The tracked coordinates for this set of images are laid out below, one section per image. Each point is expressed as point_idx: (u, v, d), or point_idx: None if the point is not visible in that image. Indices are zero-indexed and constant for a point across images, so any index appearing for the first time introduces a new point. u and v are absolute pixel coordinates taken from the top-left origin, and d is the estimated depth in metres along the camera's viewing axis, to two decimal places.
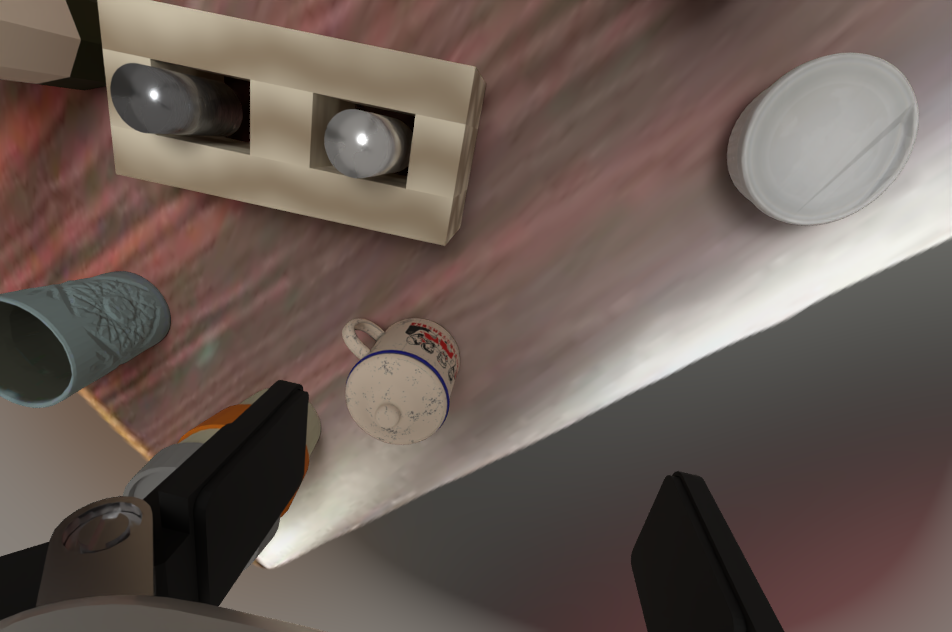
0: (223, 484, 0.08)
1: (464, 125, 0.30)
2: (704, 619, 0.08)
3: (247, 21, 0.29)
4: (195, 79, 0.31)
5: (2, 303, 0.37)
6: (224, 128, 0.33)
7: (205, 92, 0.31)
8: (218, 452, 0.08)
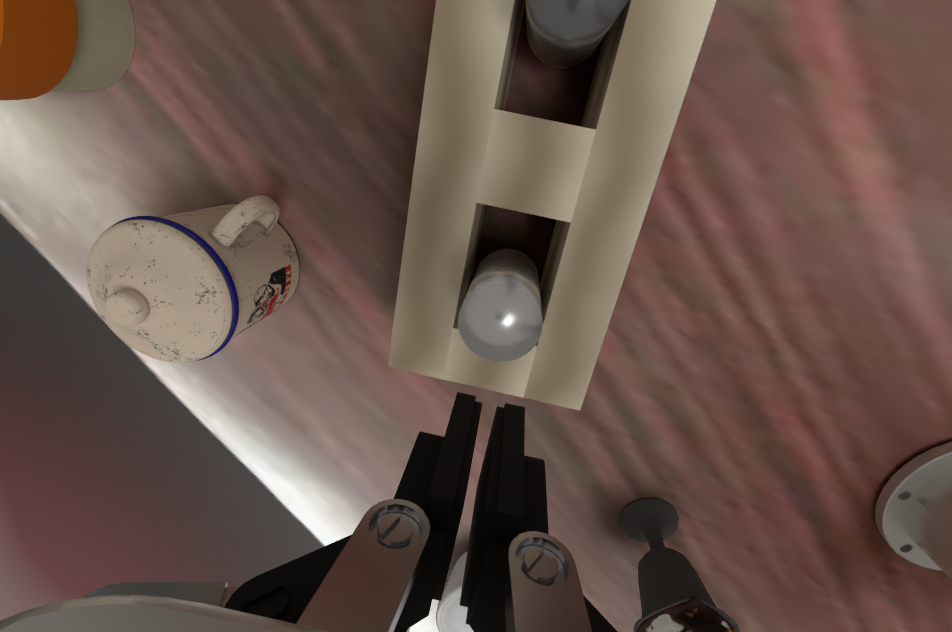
0: (466, 488, 0.09)
1: (522, 396, 0.27)
2: (481, 511, 0.09)
3: (668, 139, 0.21)
4: (605, 33, 0.19)
5: None
6: (536, 48, 0.22)
7: (585, 50, 0.20)
8: (452, 460, 0.09)
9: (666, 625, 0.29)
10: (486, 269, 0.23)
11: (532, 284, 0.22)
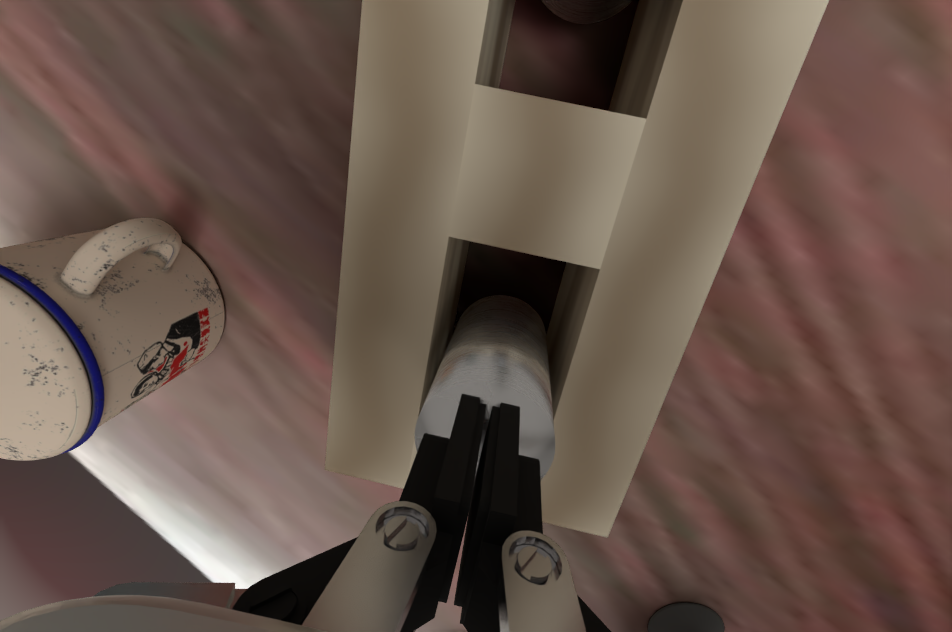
0: (472, 490, 0.09)
1: None
2: (475, 511, 0.09)
3: (770, 135, 0.12)
4: None
5: None
6: None
7: None
8: (458, 462, 0.09)
9: None
10: (466, 339, 0.15)
11: (538, 368, 0.14)
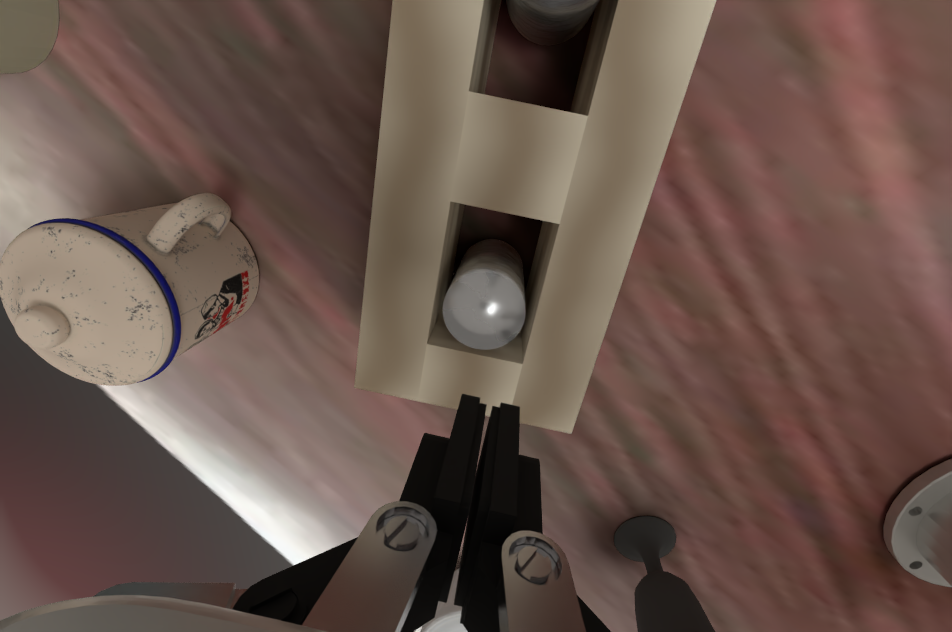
0: (472, 490, 0.09)
1: None
2: (475, 510, 0.09)
3: (671, 127, 0.18)
4: (599, 0, 0.16)
5: None
6: (517, 20, 0.19)
7: (575, 20, 0.17)
8: (458, 462, 0.09)
9: None
10: (470, 259, 0.24)
11: (515, 273, 0.23)
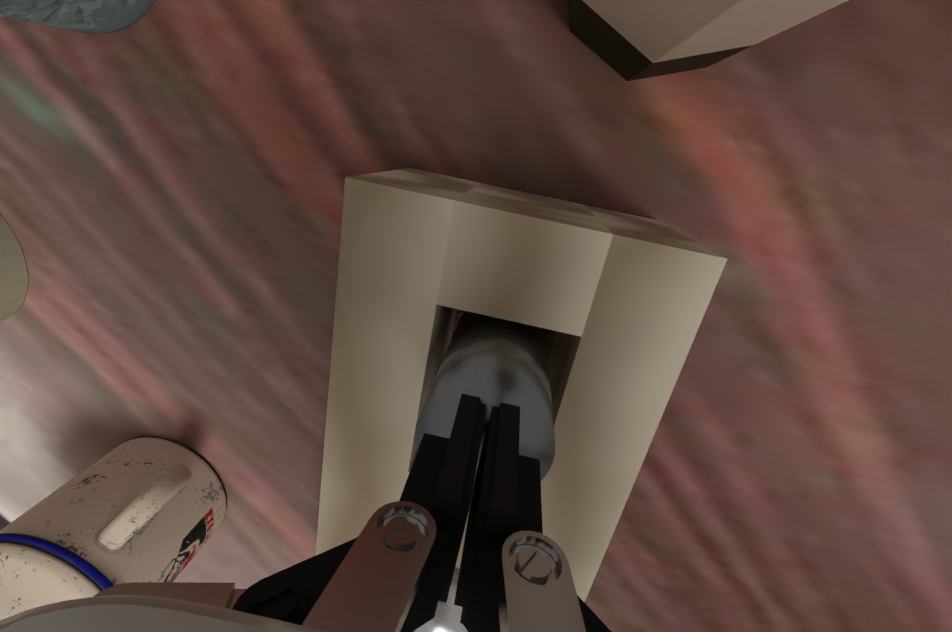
0: (472, 490, 0.09)
1: None
2: (475, 510, 0.09)
3: (617, 517, 0.17)
4: None
5: None
6: None
7: None
8: (458, 462, 0.09)
9: None
10: None
11: None
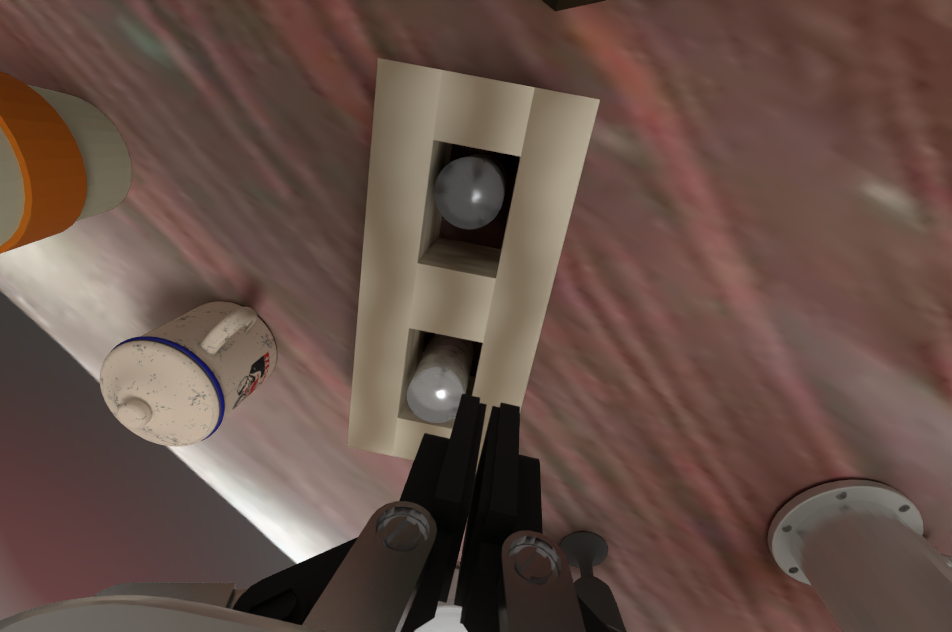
0: (472, 490, 0.09)
1: None
2: (475, 510, 0.09)
3: (551, 286, 0.27)
4: None
5: None
6: None
7: None
8: (458, 462, 0.09)
9: None
10: (429, 354, 0.33)
11: (459, 367, 0.32)
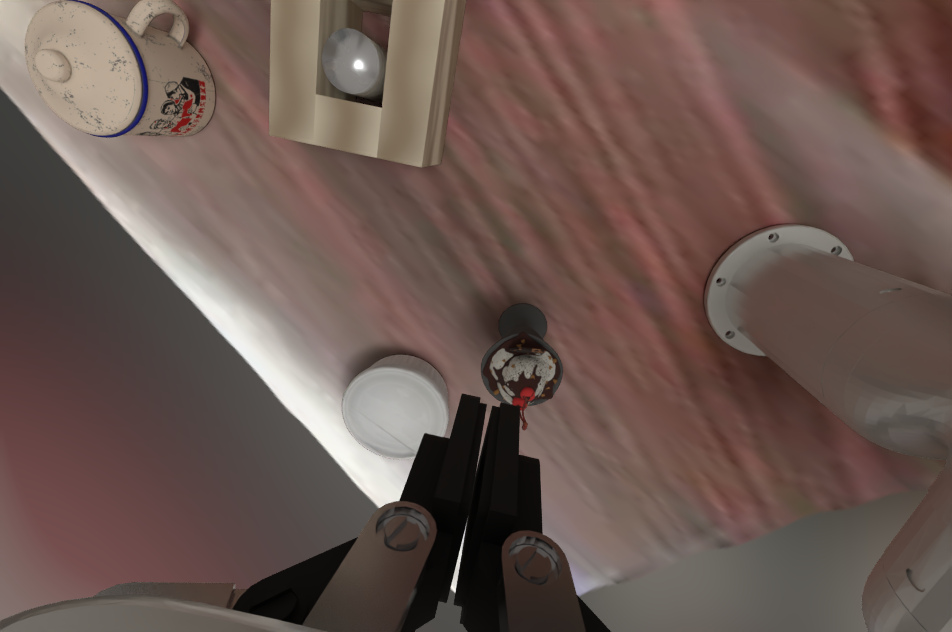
0: (473, 490, 0.09)
1: (376, 156, 0.33)
2: (475, 511, 0.09)
3: None
4: None
5: None
6: None
7: None
8: (458, 462, 0.09)
9: (501, 356, 0.35)
10: None
11: (378, 46, 0.32)
